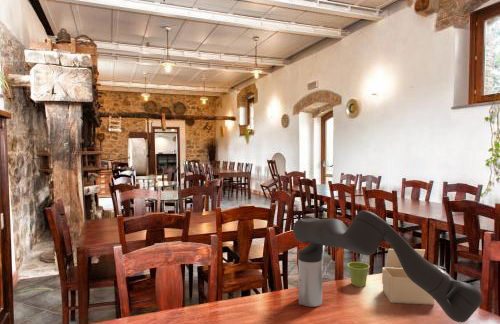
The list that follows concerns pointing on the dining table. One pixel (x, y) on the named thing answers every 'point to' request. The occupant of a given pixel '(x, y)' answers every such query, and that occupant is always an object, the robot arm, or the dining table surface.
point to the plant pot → (358, 273)
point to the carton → (403, 288)
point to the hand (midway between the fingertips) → (417, 263)
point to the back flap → (393, 259)
